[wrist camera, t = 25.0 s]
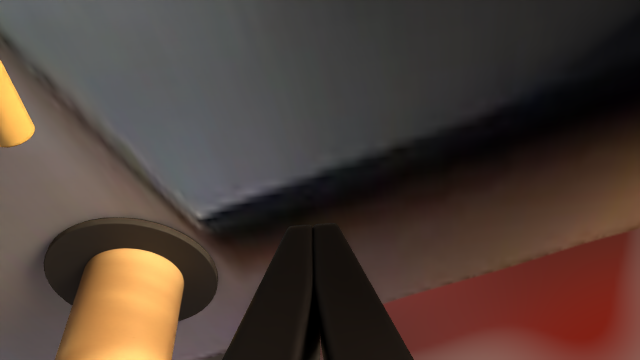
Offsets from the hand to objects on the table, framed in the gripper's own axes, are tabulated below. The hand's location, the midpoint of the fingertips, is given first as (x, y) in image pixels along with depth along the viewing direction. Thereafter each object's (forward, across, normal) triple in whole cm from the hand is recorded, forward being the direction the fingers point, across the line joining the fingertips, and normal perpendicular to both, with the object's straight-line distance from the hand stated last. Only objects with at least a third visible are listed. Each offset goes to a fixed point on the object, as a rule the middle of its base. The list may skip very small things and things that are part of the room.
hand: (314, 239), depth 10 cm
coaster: (+13, +11, +17) cm, 24 cm away
